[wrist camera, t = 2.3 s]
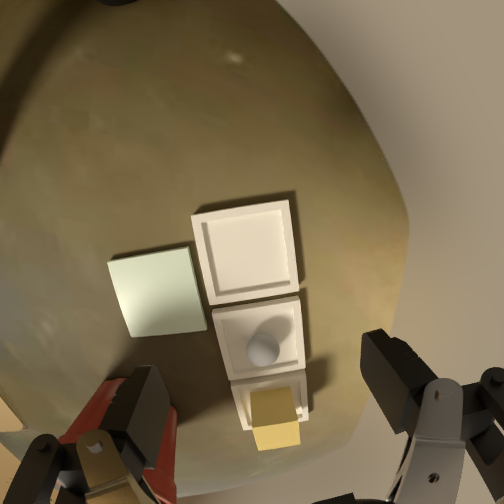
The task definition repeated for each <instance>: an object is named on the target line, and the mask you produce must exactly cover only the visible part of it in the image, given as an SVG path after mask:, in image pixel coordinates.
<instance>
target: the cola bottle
mask: <svg viewBox="0 0 504 504" xmlns="http://www.w3.org/2000/svg"><path fill="white" fill-rule="evenodd" d="M97 1H99V2H101V3H103V4H105V5H109V6H120V5H124V4H128V3H131V2H133V1H135V0H97Z"/></svg>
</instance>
